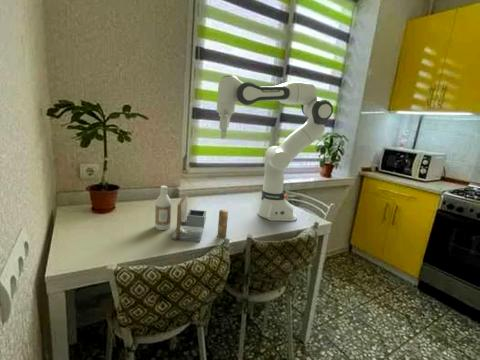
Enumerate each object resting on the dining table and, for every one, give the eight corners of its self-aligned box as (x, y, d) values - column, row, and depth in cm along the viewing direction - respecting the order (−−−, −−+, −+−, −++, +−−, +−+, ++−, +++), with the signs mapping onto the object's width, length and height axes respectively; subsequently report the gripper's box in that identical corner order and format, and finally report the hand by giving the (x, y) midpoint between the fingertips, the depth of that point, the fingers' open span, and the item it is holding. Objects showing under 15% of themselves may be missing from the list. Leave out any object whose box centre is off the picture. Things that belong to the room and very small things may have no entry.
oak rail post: (226, 234, 131) (228, 210, 128) (225, 238, 127) (228, 213, 124) (217, 233, 131) (219, 209, 128) (217, 237, 127) (219, 212, 124)
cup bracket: (205, 227, 136) (207, 195, 132) (201, 242, 121) (204, 207, 117) (179, 225, 136) (180, 193, 132) (172, 239, 120) (173, 204, 116)
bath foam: (154, 230, 128) (155, 188, 123) (155, 224, 134) (156, 184, 129) (170, 230, 129) (171, 188, 124) (170, 224, 136) (171, 184, 131)
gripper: (231, 110, 130) (228, 140, 133) (232, 110, 150) (230, 136, 153) (217, 109, 130) (215, 138, 133) (220, 109, 150) (218, 135, 153)
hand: (223, 137), depth 143 cm, fingers open, 8 cm apart
